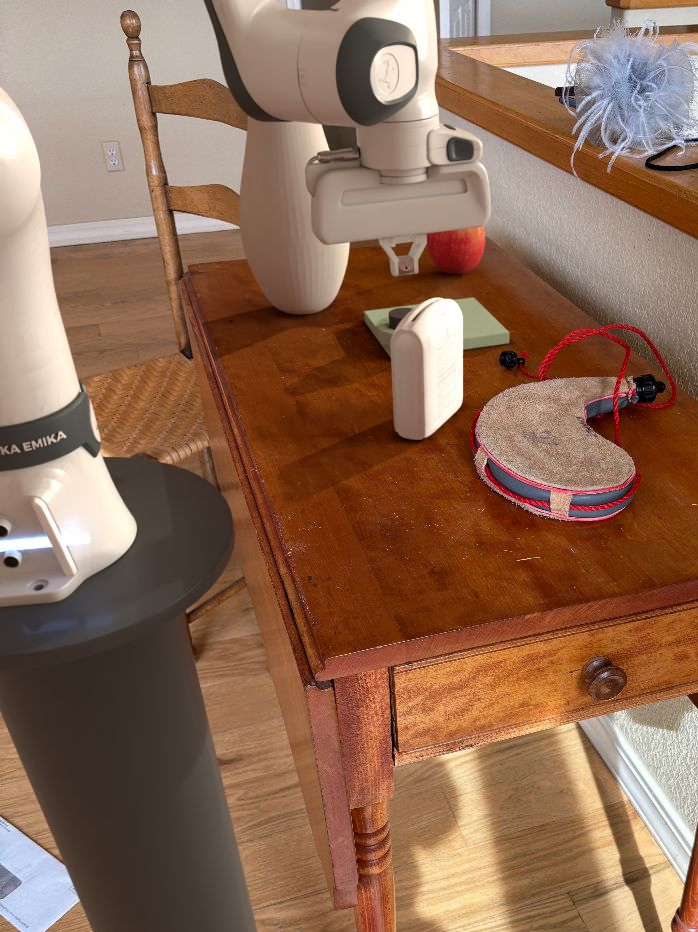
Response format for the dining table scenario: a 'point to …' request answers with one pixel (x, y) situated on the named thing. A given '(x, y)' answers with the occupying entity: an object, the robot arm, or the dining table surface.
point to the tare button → (397, 316)
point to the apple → (456, 249)
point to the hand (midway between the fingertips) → (404, 273)
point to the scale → (476, 325)
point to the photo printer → (427, 367)
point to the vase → (286, 218)
